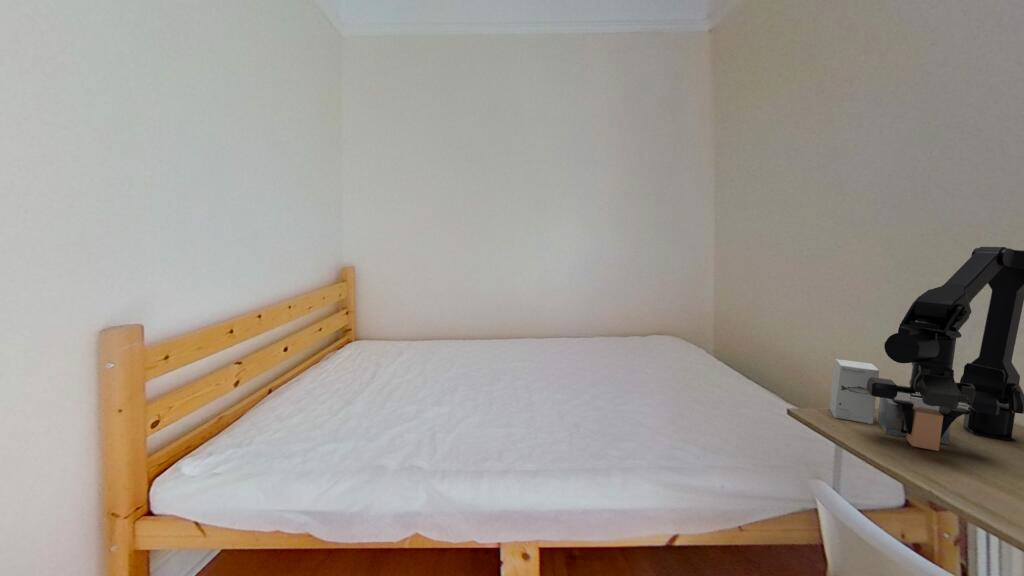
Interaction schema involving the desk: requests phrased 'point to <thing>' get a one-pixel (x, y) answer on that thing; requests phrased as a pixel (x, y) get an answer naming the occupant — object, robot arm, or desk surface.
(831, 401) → the supplement box
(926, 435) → the cover
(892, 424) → the block
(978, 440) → the desk surface
